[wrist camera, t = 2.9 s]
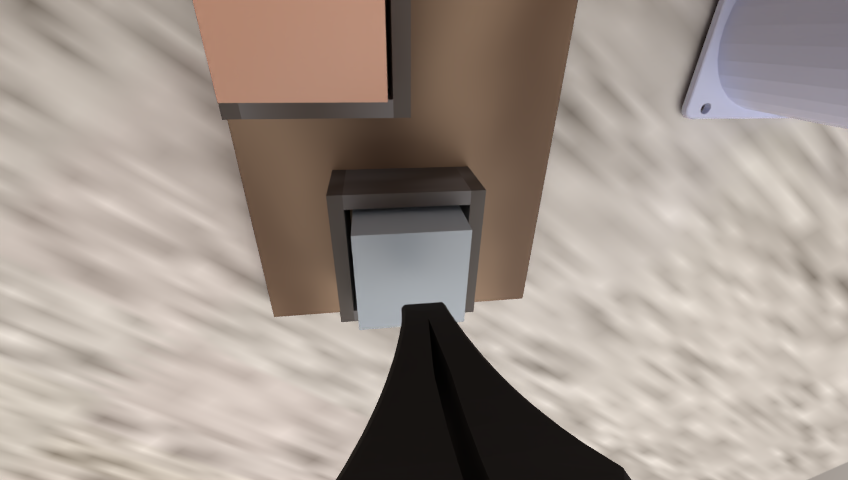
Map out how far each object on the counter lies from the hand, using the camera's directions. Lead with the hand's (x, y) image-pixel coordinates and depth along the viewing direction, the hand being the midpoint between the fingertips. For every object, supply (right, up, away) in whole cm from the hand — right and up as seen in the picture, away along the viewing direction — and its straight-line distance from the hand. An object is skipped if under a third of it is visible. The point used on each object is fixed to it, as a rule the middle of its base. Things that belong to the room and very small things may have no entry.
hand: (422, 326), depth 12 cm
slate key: (-1, +3, +5) cm, 6 cm away
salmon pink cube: (-4, +10, 0) cm, 11 cm away
